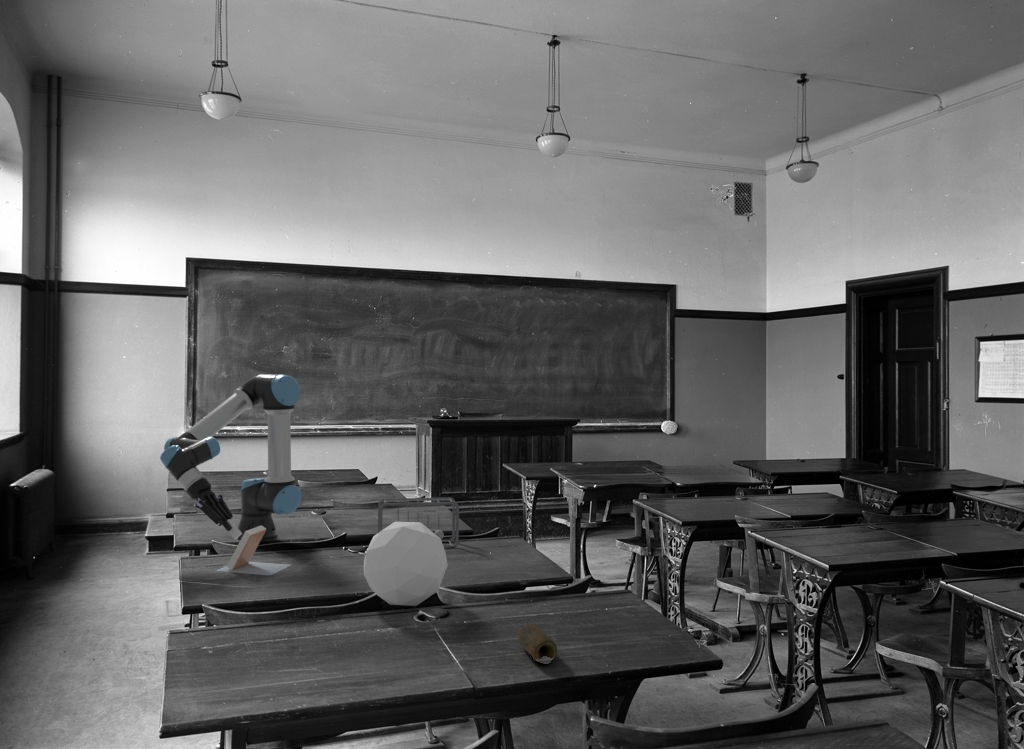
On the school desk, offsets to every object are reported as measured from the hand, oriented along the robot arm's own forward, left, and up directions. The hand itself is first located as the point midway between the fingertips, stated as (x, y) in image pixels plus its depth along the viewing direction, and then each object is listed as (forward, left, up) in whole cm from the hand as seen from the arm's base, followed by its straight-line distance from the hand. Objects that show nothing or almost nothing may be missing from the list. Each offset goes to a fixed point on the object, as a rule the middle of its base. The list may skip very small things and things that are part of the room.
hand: (238, 536), depth 269 cm
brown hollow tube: (-21, +123, -11) cm, 125 cm away
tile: (0, 0, -10) cm, 10 cm away
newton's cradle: (-66, +11, -11) cm, 68 cm away
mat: (-4, +5, -11) cm, 12 cm away
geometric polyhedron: (-21, +67, -11) cm, 72 cm away
